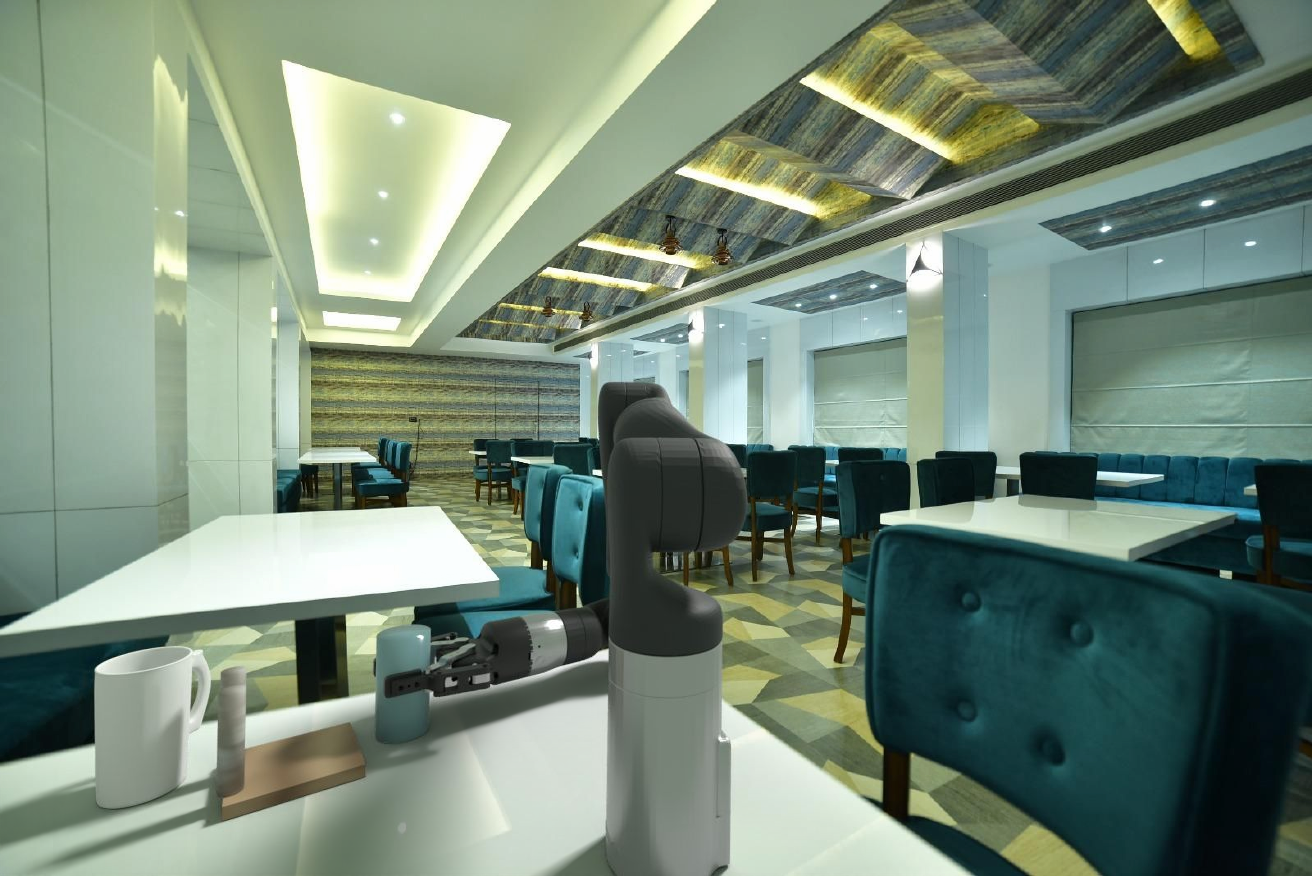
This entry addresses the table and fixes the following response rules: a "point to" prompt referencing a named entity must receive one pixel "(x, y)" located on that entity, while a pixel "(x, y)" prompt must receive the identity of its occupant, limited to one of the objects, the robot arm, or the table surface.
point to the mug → (146, 722)
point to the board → (276, 757)
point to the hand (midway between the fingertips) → (379, 677)
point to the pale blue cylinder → (397, 655)
